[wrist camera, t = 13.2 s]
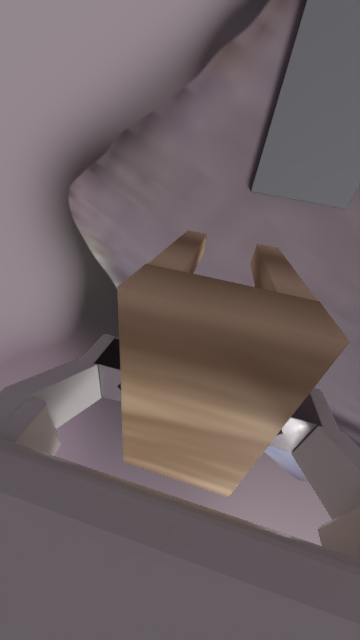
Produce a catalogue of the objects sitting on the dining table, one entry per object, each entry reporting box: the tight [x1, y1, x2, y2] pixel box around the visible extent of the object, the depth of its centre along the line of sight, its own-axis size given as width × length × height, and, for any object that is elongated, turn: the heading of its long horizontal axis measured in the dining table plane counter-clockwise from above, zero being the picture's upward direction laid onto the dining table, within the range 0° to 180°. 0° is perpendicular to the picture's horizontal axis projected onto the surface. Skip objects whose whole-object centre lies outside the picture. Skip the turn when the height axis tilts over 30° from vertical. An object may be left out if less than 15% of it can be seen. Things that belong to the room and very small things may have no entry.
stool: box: [118, 230, 350, 497], centre depth 11 cm, size 9×6×10 cm
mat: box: [251, 0, 360, 209], centre depth 20 cm, size 16×11×1 cm
